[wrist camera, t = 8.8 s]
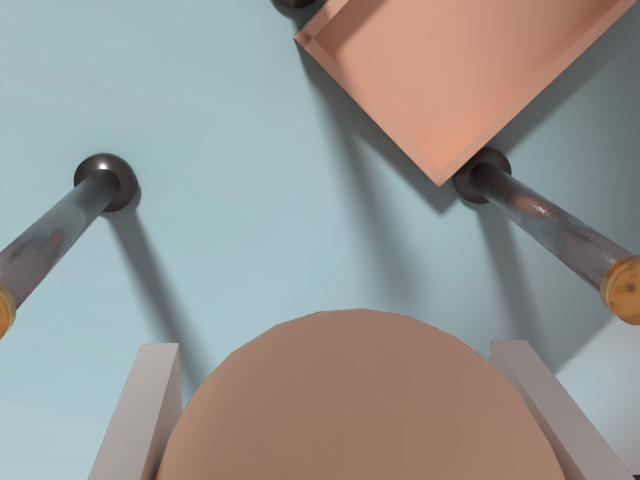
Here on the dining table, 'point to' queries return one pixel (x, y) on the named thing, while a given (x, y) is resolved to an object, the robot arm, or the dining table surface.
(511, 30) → the tray
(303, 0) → the pole corner
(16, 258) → the pole
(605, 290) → the pole
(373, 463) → the egg
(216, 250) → the dining table surface
